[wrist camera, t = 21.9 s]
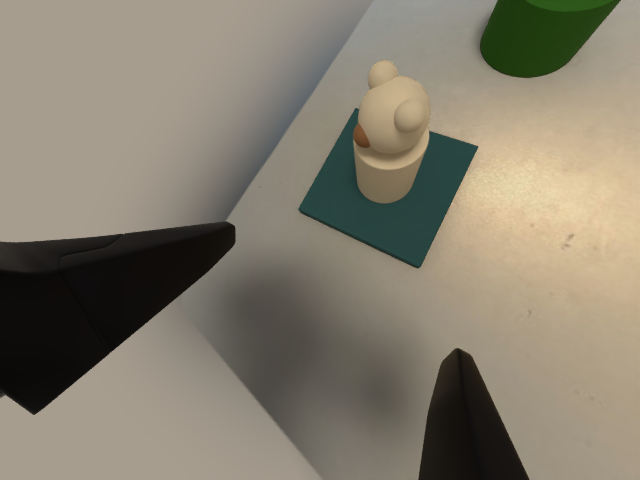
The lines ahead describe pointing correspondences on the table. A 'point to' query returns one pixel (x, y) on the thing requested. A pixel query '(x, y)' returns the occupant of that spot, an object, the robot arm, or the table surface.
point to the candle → (540, 33)
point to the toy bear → (390, 134)
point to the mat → (397, 217)
